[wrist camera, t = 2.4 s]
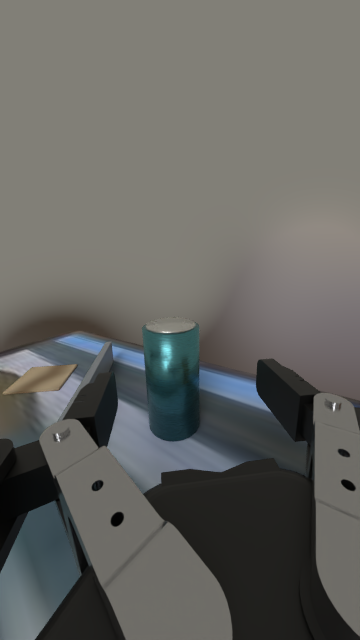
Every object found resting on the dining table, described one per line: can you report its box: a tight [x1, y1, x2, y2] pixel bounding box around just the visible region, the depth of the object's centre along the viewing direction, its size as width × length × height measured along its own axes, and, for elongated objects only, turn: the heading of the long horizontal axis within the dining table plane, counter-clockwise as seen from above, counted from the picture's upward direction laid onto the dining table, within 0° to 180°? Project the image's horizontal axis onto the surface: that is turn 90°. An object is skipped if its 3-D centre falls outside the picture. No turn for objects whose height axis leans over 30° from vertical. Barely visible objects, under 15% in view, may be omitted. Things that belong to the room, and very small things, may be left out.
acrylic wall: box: [57, 342, 113, 422], centre depth 30 cm, size 1×24×4 cm, turn 6°
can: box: [142, 317, 199, 441], centre depth 25 cm, size 6×6×12 cm
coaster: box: [3, 364, 77, 395], centre depth 37 cm, size 8×8×1 cm
